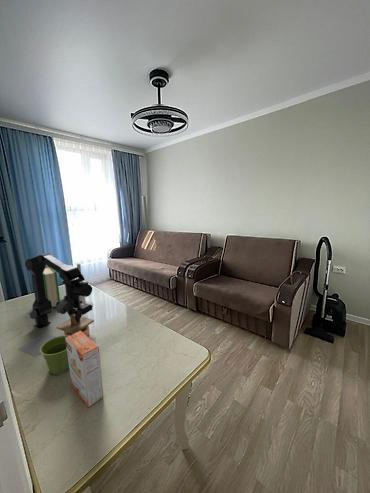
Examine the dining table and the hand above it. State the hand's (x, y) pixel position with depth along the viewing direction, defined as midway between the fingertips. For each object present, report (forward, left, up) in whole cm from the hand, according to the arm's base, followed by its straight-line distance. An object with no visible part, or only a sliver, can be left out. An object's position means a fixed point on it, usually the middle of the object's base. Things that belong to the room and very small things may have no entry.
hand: (75, 321), depth 106 cm
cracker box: (+30, -22, -9) cm, 38 cm away
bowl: (0, 0, -9) cm, 9 cm away
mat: (-11, -11, -9) cm, 18 cm away
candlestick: (-24, +25, -9) cm, 36 cm away
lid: (0, 0, -2) cm, 2 cm away
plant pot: (+11, -18, -9) cm, 23 cm away
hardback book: (-48, +20, -9) cm, 53 cm away
